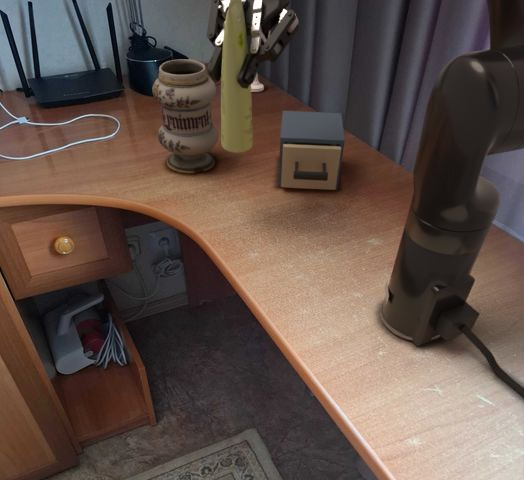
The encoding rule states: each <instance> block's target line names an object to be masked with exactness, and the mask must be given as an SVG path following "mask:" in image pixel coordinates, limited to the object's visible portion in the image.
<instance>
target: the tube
mask: <svg viewBox="0 0 524 480" xmlns="http://www.w3.org/2000/svg"><path fill="white" fill-rule="evenodd" d="M247 53H248V54H250V53H249V44H248V36H247V33H246V25H245V17H244V10H243V5H242V0H231V1H230V3H229V9H228V11H227V15H226V20H225V28H224V39H223V53H222V72H221V78H220V81H221V82H220V136H221V137H220V138H221V140H220V141H221V142H220V143H221V147H222V149H224V150H225V151H227V152H230V153H236V154H238V153H239V154H240V153H245V152H248V151H249V150H251V149H252V148H253V146H254V145H253V140H254V139H253V135H254V134H253V133H254V132H253V102H252V92H251V85H249V87H248V88H247V89H245V88H242V87H241V86H240V84H239V83H238V81H237V78H238V75H239V72H240V70H241V67H242V65H243V63H244V60H245V58H246V55H247Z"/></svg>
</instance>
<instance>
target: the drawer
mask: <svg viewBox="0 0 524 480" xmlns="http://www.w3.org/2000/svg"><path fill="white" fill-rule="evenodd" d="M340 154H341V147H339V146H336V144H317V143H295V142H287V144H283V157H282V177H281V187H280V188H290V189H307V190H309V189H310V190H328V191H329V190H330V191H331V190H332V191H336V190H335V189H336V182H337V175H338V168H339V161H340Z"/></svg>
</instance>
